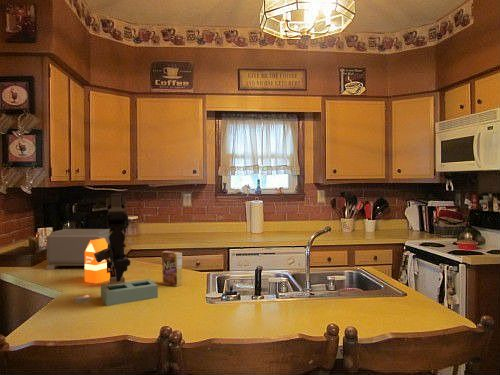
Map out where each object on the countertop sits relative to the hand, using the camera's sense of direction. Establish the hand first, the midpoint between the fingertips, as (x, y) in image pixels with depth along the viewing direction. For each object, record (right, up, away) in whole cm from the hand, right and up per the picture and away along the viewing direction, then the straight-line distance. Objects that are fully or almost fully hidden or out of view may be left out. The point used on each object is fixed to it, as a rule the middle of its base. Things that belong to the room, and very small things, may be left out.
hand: (117, 280), depth 152 cm
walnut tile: (0, -1, 0) cm, 1 cm away
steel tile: (-14, -8, -1) cm, 16 cm away
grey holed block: (+4, -8, +2) cm, 9 cm away
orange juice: (-20, -8, +31) cm, 38 cm away
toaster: (-41, -8, +63) cm, 76 cm away
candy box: (+18, -8, +23) cm, 30 cm away
